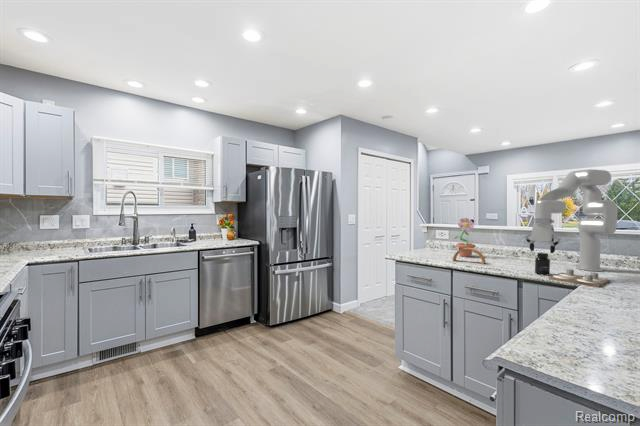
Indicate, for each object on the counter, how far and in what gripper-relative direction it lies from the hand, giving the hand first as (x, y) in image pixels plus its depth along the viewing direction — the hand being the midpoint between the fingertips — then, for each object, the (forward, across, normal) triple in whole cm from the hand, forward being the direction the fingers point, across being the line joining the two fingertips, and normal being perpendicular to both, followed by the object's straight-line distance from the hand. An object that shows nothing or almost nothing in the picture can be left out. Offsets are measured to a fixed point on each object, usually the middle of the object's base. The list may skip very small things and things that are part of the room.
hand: (541, 251), depth 172 cm
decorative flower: (+13, +60, -25) cm, 66 cm away
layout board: (+13, -17, +1) cm, 21 cm away
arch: (+13, +44, -3) cm, 46 cm away
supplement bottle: (+13, 0, -1) cm, 13 cm away
